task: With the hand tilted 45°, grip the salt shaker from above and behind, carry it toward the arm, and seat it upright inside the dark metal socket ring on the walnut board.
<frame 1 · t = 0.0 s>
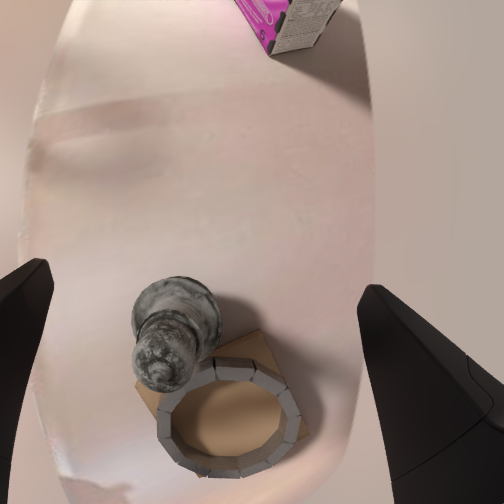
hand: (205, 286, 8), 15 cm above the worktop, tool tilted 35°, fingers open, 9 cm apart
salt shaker: (180, 310, 23), on the worktop
candy bar box: (263, 12, 23), on the worktop
socket base: (226, 409, 24), on the worktop
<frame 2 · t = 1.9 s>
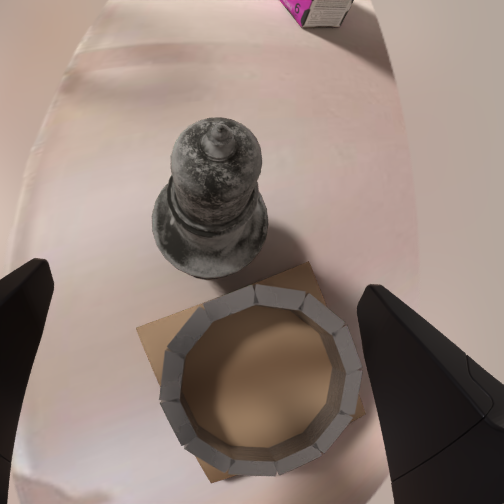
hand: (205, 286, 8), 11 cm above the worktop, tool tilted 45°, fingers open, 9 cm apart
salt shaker: (208, 235, 19), on the worktop
candy bar box: (295, 0, 25), on the worktop
socket base: (256, 376, 18), on the worktop
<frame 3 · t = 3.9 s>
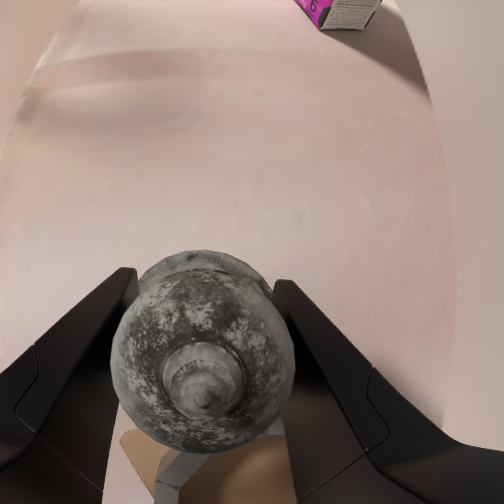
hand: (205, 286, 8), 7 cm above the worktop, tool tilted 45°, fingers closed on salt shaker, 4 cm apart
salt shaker: (202, 326, 15), on the worktop, touching gripper
socket base: (263, 481, 13), on the worktop
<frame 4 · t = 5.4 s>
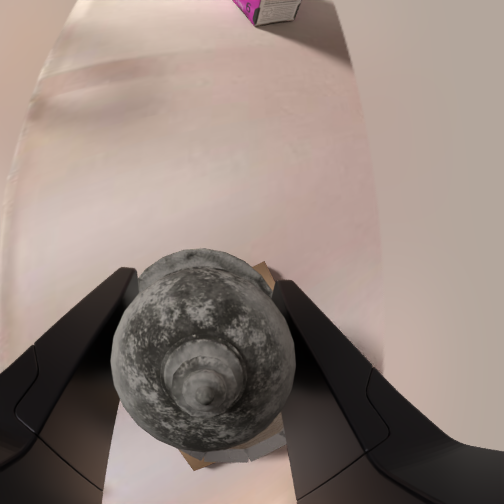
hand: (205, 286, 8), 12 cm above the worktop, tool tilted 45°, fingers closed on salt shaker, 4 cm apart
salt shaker: (201, 324, 15), point 6 cm above the worktop, touching gripper
socket base: (225, 371, 20), on the worktop
when the fingers open (9 cm above the worktop, at t = 6.9 s): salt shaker stays where it is, resting on socket base.
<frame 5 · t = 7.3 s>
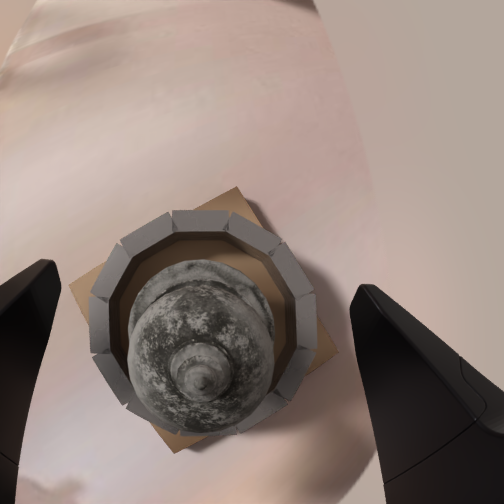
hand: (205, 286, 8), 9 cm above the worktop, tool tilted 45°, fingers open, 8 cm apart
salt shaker: (201, 327, 16), point 1 cm above the worktop, touching socket base
socket base: (202, 323, 17), on the worktop
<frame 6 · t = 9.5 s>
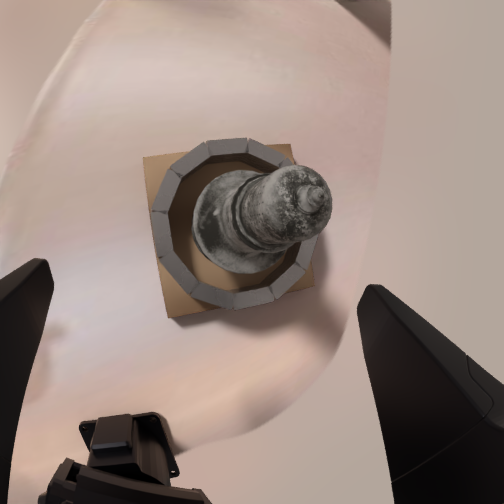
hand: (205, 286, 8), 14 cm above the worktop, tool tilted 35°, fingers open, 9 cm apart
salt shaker: (230, 226, 21), point 1 cm above the worktop, touching socket base
socket base: (228, 225, 22), on the worktop
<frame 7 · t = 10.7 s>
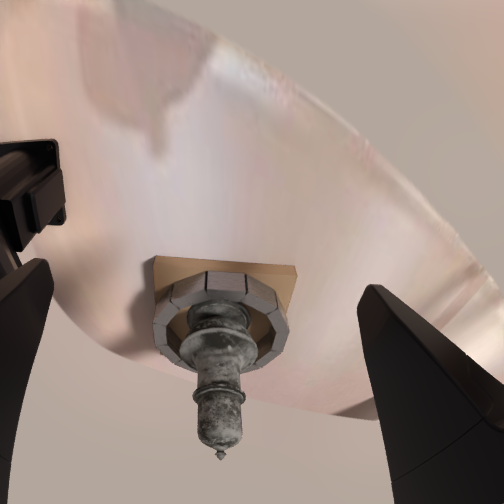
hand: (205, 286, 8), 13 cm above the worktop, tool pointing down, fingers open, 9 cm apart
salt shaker: (218, 318, 26), point 1 cm above the worktop, touching socket base
socket base: (220, 310, 27), on the worktop
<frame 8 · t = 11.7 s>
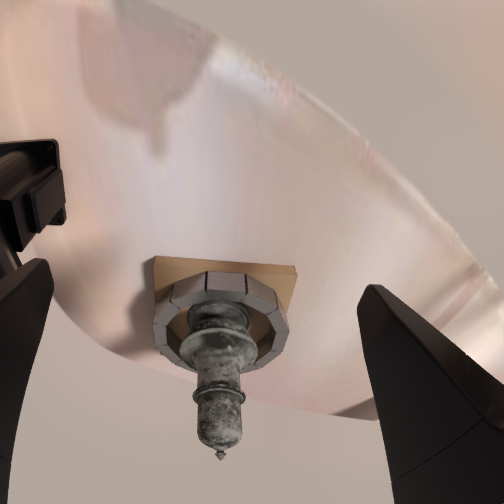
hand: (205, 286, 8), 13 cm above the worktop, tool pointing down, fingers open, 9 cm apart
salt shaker: (218, 318, 26), point 1 cm above the worktop, touching socket base
socket base: (220, 311, 27), on the worktop
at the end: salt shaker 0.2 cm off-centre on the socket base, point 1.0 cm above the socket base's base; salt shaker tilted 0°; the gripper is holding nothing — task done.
